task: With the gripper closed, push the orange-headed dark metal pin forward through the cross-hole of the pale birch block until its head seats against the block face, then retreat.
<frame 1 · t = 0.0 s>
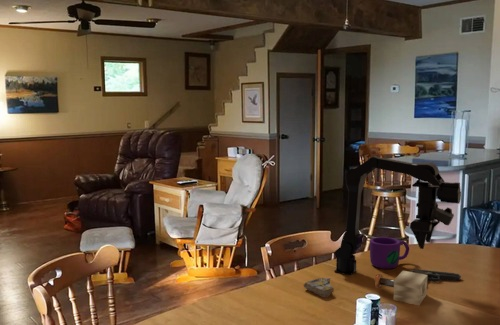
hand: (425, 245, 165), 15 cm above the table, fingers open, 9 cm apart
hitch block: (410, 297, 157), on the table
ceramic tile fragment: (319, 292, 163), on the table
pin: (394, 283, 160), point 3 cm above the table, slide at 0.0 cm
handgun: (435, 283, 171), on the table
mug: (390, 265, 190), on the table
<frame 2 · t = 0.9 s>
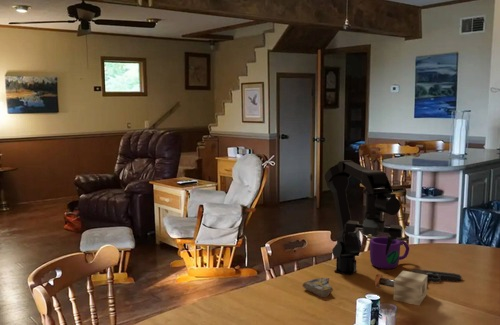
hand: (372, 253, 165), 12 cm above the table, fingers open, 9 cm apart
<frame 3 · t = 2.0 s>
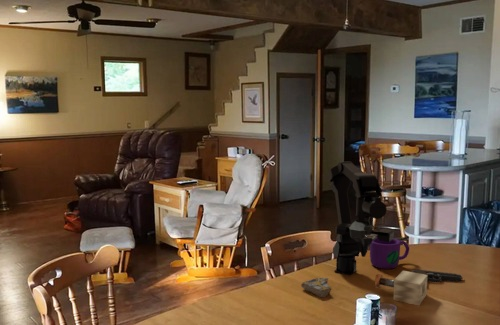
hand: (363, 256, 165), 11 cm above the table, fingers closed
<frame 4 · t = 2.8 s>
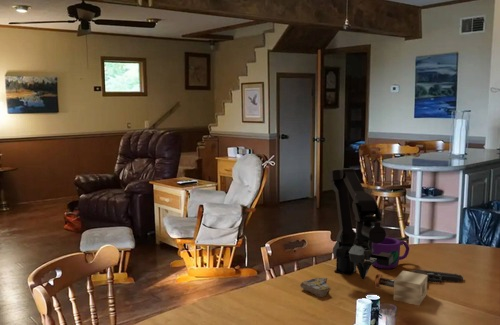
hand: (363, 279, 165), 3 cm above the table, fingers closed
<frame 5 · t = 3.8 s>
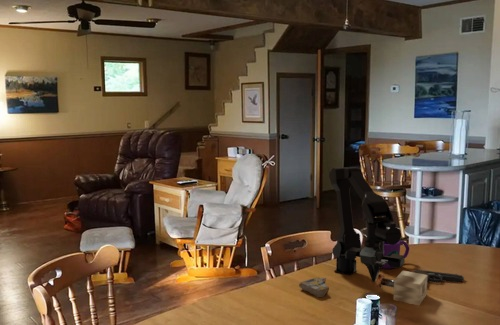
hand: (373, 281, 163), 3 cm above the table, fingers closed
pin: (397, 284, 159), point 3 cm above the table, slide at 0.7 cm, touching gripper
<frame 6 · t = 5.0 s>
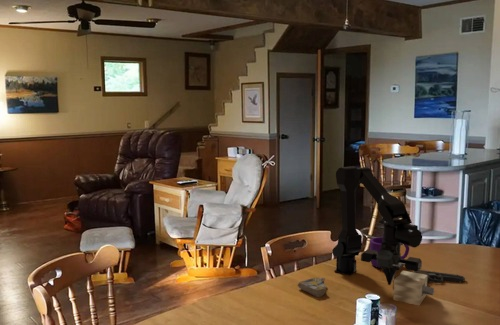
hand: (389, 284, 160), 3 cm above the table, fingers closed
pin: (413, 287, 156), point 3 cm above the table, slide at 6.0 cm, touching gripper, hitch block
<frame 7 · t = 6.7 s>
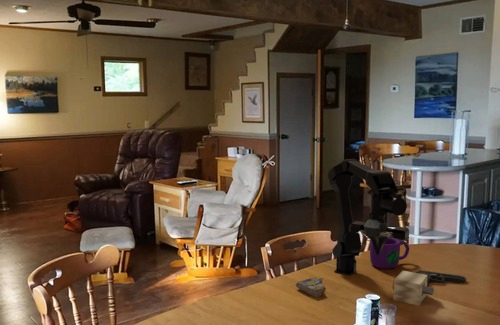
hand: (378, 254, 162), 12 cm above the table, fingers closed
pin: (413, 287, 156), point 4 cm above the table, slide at 6.0 cm, touching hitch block
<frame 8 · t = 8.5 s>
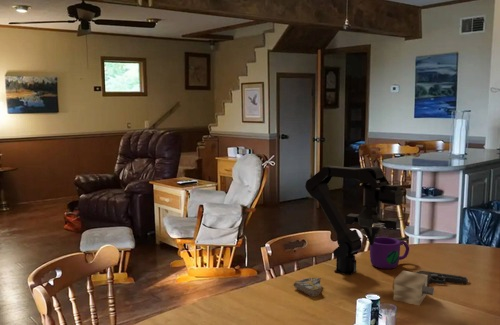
hand: (371, 244, 173), 13 cm above the table, fingers closed
at the end: pin slide at 6.0 cm; pin touching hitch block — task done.
